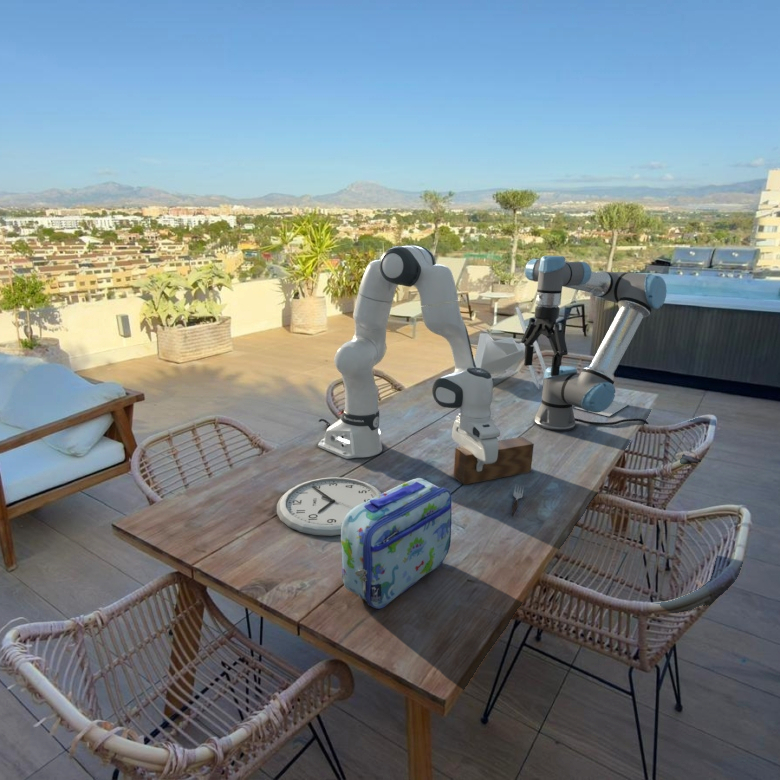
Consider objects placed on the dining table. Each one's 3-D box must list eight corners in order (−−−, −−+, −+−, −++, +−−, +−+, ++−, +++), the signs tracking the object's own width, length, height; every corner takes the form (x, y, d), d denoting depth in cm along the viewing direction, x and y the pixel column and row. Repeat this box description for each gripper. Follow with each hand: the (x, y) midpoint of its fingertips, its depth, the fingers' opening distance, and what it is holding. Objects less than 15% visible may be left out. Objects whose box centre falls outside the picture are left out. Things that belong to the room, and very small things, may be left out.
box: (519, 464, 170) (521, 436, 167) (530, 471, 165) (533, 443, 162) (453, 476, 161) (455, 447, 158) (463, 484, 155) (465, 455, 152)
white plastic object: (486, 418, 267) (465, 395, 242) (467, 346, 289) (447, 318, 264) (556, 394, 255) (543, 367, 230) (531, 321, 277) (516, 289, 252)
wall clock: (392, 527, 129) (268, 531, 127) (391, 533, 130) (269, 537, 127) (383, 473, 158) (282, 475, 155) (383, 478, 158) (282, 480, 156)
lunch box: (370, 622, 101) (370, 527, 94) (335, 595, 108) (333, 505, 102) (455, 565, 118) (460, 481, 112) (420, 544, 125) (423, 465, 119)
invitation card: (608, 416, 214) (573, 407, 224) (608, 416, 214) (573, 408, 224) (628, 404, 229) (594, 396, 238) (628, 405, 229) (594, 397, 238)
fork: (506, 517, 138) (507, 510, 138) (514, 490, 152) (515, 483, 152) (516, 518, 137) (517, 512, 137) (523, 491, 152) (524, 485, 151)
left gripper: (448, 412, 162) (445, 453, 166) (484, 436, 144) (481, 481, 148) (465, 410, 164) (463, 450, 169) (503, 433, 146) (499, 477, 151)
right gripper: (514, 301, 176) (509, 362, 182) (565, 312, 154) (557, 381, 160) (532, 300, 179) (526, 360, 185) (585, 311, 157) (576, 378, 163)
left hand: (471, 465), depth 158 cm, fingers closed on box, 6 cm apart
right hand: (540, 370), depth 173 cm, fingers open, 13 cm apart
